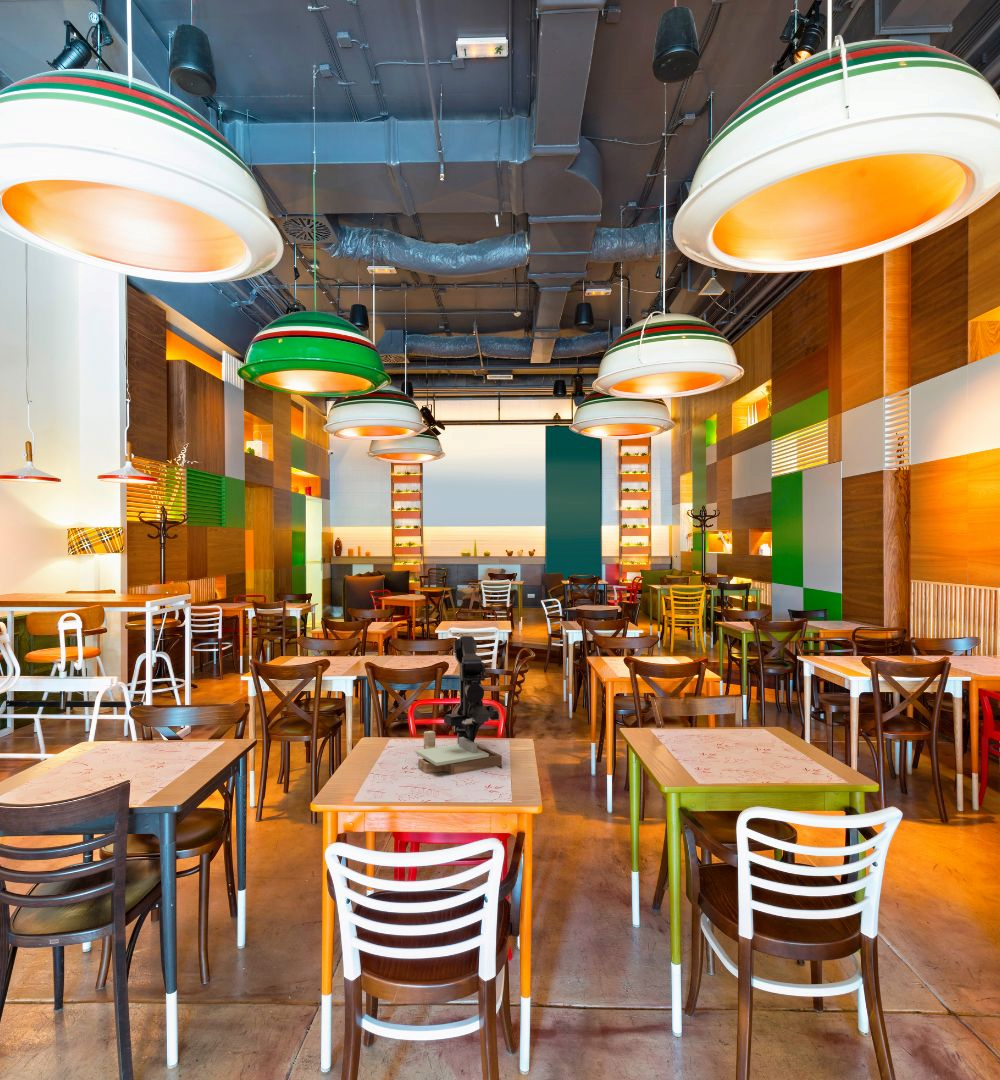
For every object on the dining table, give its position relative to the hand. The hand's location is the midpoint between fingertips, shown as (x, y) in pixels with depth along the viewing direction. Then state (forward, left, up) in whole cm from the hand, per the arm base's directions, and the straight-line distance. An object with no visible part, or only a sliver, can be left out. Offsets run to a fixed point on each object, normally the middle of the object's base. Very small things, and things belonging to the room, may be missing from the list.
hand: (471, 742), depth 223 cm
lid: (0, -8, -3) cm, 8 cm away
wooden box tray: (0, -6, -8) cm, 9 cm away
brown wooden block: (-15, -9, -8) cm, 19 cm away
